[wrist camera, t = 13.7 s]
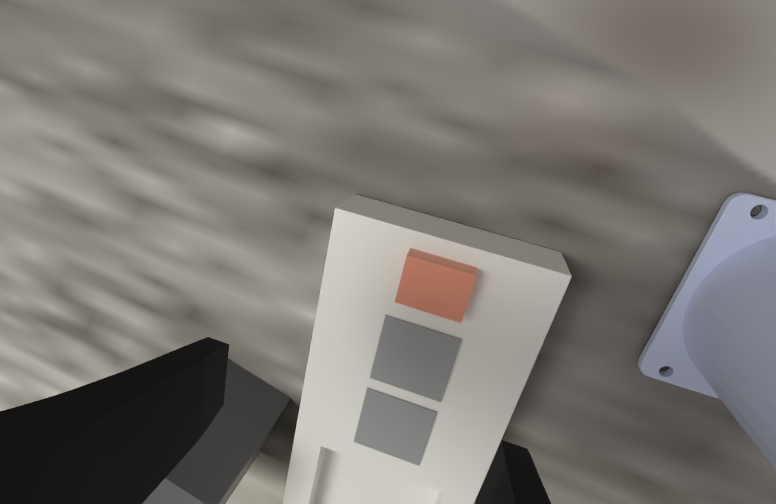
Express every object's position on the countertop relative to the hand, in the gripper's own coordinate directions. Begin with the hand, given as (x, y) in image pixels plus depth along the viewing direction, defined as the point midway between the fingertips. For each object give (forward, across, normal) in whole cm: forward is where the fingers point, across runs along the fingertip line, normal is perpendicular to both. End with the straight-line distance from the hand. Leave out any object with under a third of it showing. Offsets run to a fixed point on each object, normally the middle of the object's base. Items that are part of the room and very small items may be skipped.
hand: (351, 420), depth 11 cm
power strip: (+9, -1, +8) cm, 12 cm away
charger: (+10, +8, +11) cm, 17 cm away
